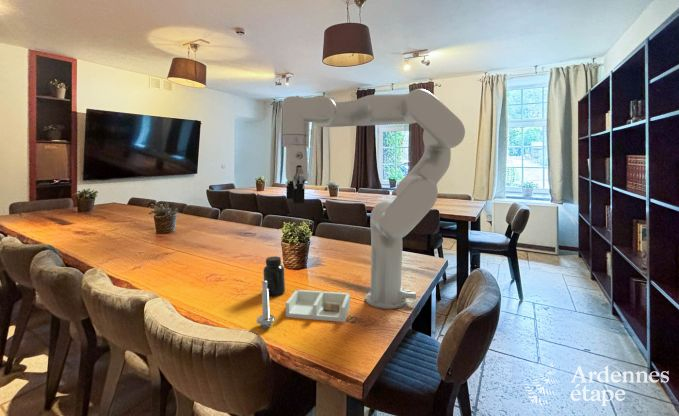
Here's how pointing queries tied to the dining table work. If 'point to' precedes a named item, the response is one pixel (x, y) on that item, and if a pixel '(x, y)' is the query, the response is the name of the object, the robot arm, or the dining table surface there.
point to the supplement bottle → (274, 276)
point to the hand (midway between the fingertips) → (295, 200)
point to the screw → (265, 308)
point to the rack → (317, 305)
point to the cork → (331, 306)
